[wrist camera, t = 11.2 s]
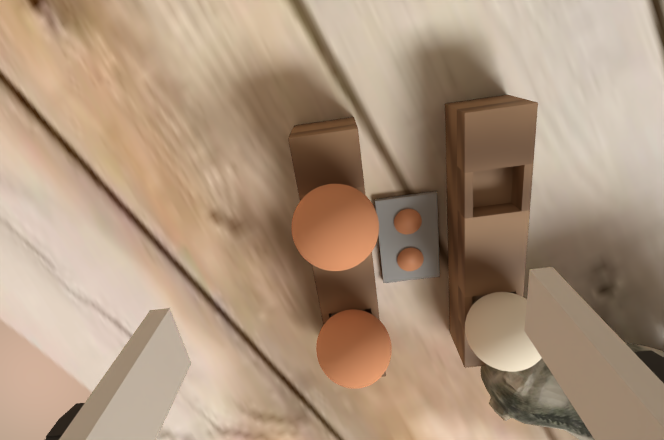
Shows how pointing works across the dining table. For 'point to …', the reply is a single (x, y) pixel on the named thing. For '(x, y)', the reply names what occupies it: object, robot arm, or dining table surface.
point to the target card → (408, 236)
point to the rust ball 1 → (335, 227)
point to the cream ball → (501, 332)
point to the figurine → (537, 397)
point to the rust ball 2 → (353, 348)
